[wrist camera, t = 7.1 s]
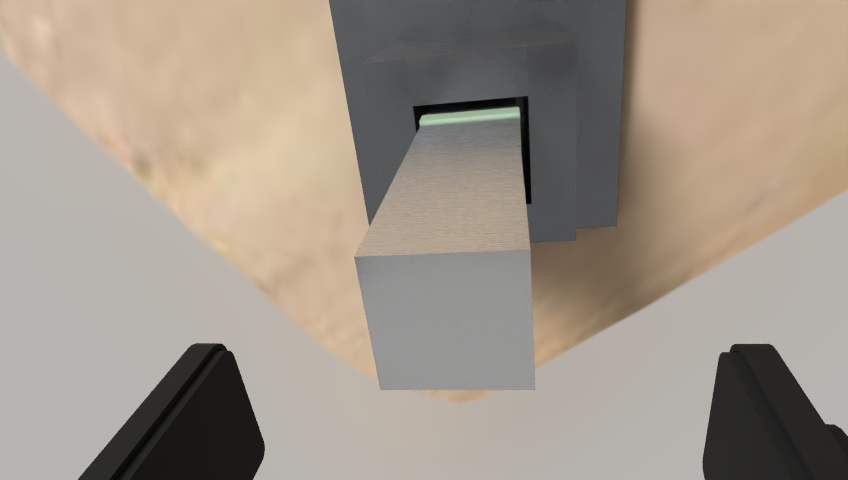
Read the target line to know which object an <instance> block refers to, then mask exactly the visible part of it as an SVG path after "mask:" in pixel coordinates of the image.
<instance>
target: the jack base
mask: <svg viewBox="0 0 848 480" xmlns="http://www.w3.org/2000/svg"><path fill="white" fill-rule="evenodd" d="M329 4H330V9H331V15H332V20H333V26H334V31H335V37H336V43H337V48H338V54H339V59H340V65H341V71H342V76H343V82H344V87H345V93H346V98H347V104H348V110H349V115H350V121H351V126H352V132H353V138H354V143H355V149H356V154H357V160H358V165H359V171H360V177H361V182H362V188H363V193H364V199H365V205H366V210H367V216H368V221H369V227H370V225H371V223H372V221H373V219H374V217H375V215H376V213H377V211H378V209H379V207H380V205H381V203H382V201H383V199H384V197H385V195H386V193H387V191H388V189H389V187H390V185H391V183H392V181H393V179H394V177H395V175H396V173H397V171H398V169H399V167H400V166H401V164H402V162H403V160H404V158H405V156H406V154H407V152H408V150H409V148H410V146H411V144H412V142H413V140H414V138H415V136H416V134H417V132H418V130H419V128H420V123H419V121H420V119H421V117H422V115H426V114H427V112H428V110H429V108H430V106H431V105H432V104H443V103H454V102H465V101H476V100H487V99H499V98H510V97H516V105H517V107H519V110H520V129H521V155H522V167H523V178H524V188H525V198H526V209H527V219H528V229H529V240H530V242H549V241H571V240H576V228H587V227H608V226H616V224H617V201H618V179H619V156H620V134H621V111H622V89H623V66H624V44H625V21H626V0H329Z"/></svg>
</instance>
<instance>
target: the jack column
mask: <svg viewBox="0 0 848 480" xmlns="http://www.w3.org/2000/svg"><path fill="white" fill-rule="evenodd" d="M419 123H420V128H419V130H418V132H417V134H416V136H415V138H414V140H413V142H412V144H411V146H410V148H409V150H408V152H407V154H406V156H405V158H404V160H403V162H402V164H401V166H400V167H399V169H398V171H397V173H396V175H395V177H394V179H393V181H392V183H391V185H390V187H389V189H388V191H387V193H386V195H385V197H384V199H383V201H382V203H381V205H380V207H379V209H378V211H377V213H376V215H375V217H374V219H373V221H372V223H371V225H370V227H369V229H368V231H367V233H366V235H365V237H364V239H363V241H362V243H361V245H360V246H359V248H358V250H357V252H356V254H355V256H354V258H355V263H356V268H357V273H358V278H359V283H360V288H361V294H362V299H363V304H364V309H365V314H366V319H367V324H368V329H369V334H370V339H371V344H372V349H373V354H374V359H375V364H376V369H377V374H378V379H379V384H380V389H381V390H535V369H534V339H533V310H532V281H531V251H530V240H529V229H528V219H527V209H526V198H525V188H524V178H523V167H522V155H521V129H520V110H519V107H517V105H516V97H510V98H499V99H487V100H476V101H465V102H454V103H443V104H432V105H431V106H430V108H429V110H428V112H427V114H426V115H422V117H421V119H420V121H419Z"/></svg>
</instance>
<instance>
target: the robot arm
mask: <svg viewBox="0 0 848 480" xmlns="http://www.w3.org/2000/svg"><path fill="white" fill-rule="evenodd" d="M264 451H265V445H264V441H263V438H262V435H261V432H260V429H259V426H258V423H257V421H256V418H255V415H254V412H253V410H252V406H251V403H250V400H249V397H248V395H247V392H246V389H245V386H244V383H243V380H242V377H241V374H240V371H239V369H238V366H237V363H236V360H235V357H234V355H233V353H232V352H231V351H227V349H226V347H225V346H224V345H223V344H202V343H201V344H200V343H199V344H198V343H196V344H193V345H191V346H190V347H189V348H188V349H187V351H186V352H185V353H184V354H183V355H182V357H181V358H180V359H179V360H178V361H177V362H176V364H175V365H174V366H173V367H172V368H171V369H170V371H169V372H168V373H167V374H166V375H165V377H164V378H163V379H162V380H161V381H160V383H159V384H158V385H157V386H156V387H155V389H154V390H153V391H152V392H151V393H150V394H149V396H148V397H147V398H146V399H145V400H144V401H143V403H142V404H141V405H140V406H139V408H138V409H137V410H136V411H135V412H134V414H133V415H132V416H131V417H130V418H129V419H128V421H127V422H126V423H125V424H124V425H123V427H122V428H121V429H120V430H119V431H118V432H117V434H116V435H115V436H114V437H113V438H112V440H111V441H110V442H109V443H108V444H107V445H106V447H105V448H104V449H103V450H102V451H101V453H100V454H99V455H98V456H97V457H96V459H95V460H94V461H93V462H92V463H91V464H90V466H89V467H88V468H87V469H86V470H85V472H84V473H83V474H82V475H81V476H80V477H79V479H78V480H253V478H254V476H255V474H256V472H257V470H258V468H259V466H260V464H261V462H262V460H263V457H264ZM703 473H704V477H705V480H848V436H847V435H846V434H845V433H844V431H842V429H841V428H839V427H837V426H836V425H829V424H825V423H824V422H823V420H822V419H821V417H820V416H819V414H818V413H817V411H816V409H815V408H814V406H813V405H812V403H811V402H810V400H809V399H808V397H807V396H806V394H805V393H804V392H803V390H802V388H801V387H800V385H799V384H798V382H797V381H796V379H795V378H794V376H793V375H792V373H791V372H790V370H789V369H788V367H787V366H786V364H785V362H784V361H783V360H782V358H781V356H780V355H779V353H778V352H777V350H776V349H775V348H774V347H773V346H772V345H770V344H734V345H732V347H731V349H730V352H723V353H721V354H720V356H719V361H718V367H717V373H716V379H715V386H714V392H713V398H712V405H711V411H710V417H709V423H708V429H707V436H706V443H705V449H704V455H703Z"/></svg>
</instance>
